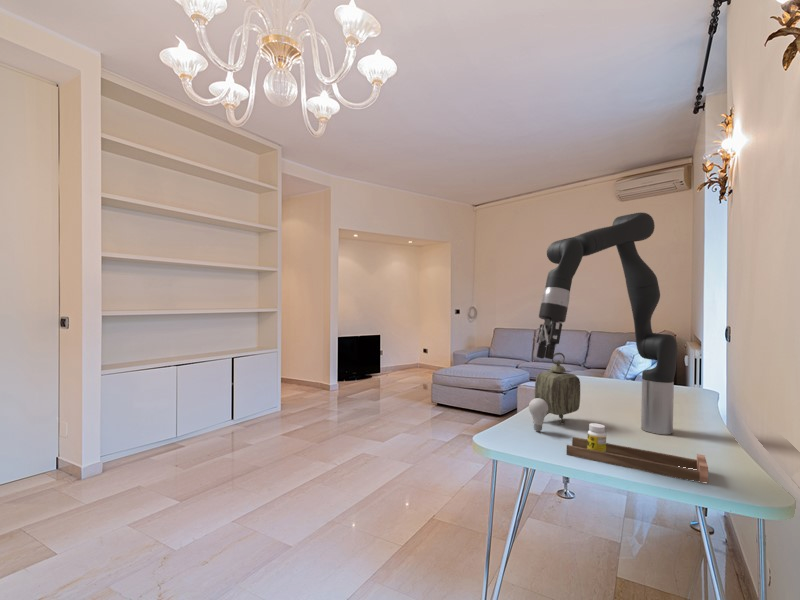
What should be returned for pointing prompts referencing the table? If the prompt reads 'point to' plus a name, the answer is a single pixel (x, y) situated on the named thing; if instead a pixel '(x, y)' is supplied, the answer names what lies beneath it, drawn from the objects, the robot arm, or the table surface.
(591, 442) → the supplement bottle
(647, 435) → the table surface
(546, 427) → the table surface
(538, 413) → the lightbulb
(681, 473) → the guide track
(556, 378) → the tabletop clock
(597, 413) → the table surface
